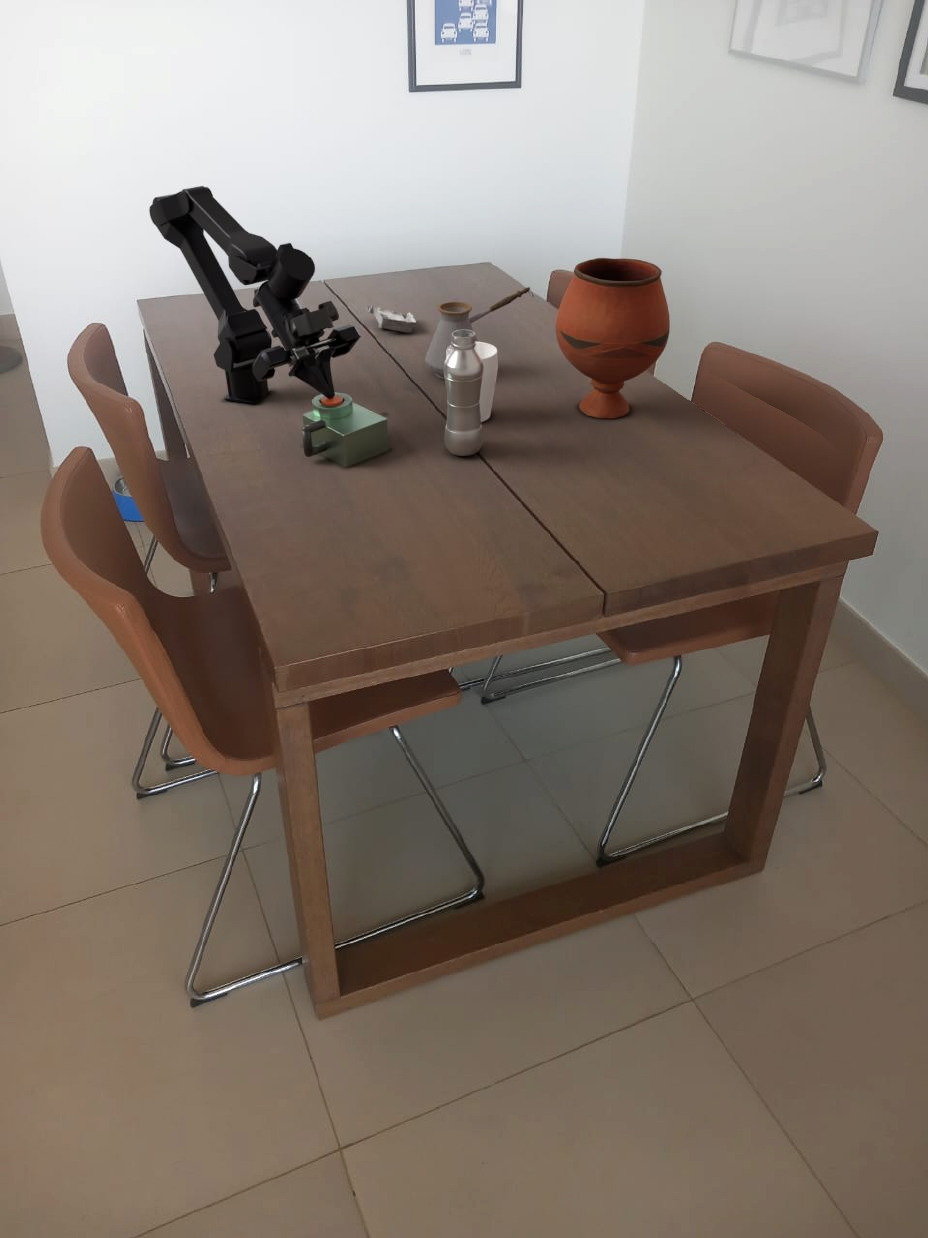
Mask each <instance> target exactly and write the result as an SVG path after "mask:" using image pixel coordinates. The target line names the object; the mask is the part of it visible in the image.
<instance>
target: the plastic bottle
mask: <svg viewBox="0 0 928 1238" xmlns="http://www.w3.org/2000/svg"><path fill="white" fill-rule="evenodd" d="M475 335H476V333H475V331H474V332H473V331H471V330H457V331H454V332H453V333H452V342H451V346H452V347H453V349H452V351H451V352H450V353H449V355H448V356H447V358H446V360H445V362H444V366H443V369H444V377H445V379H444V383H445V390H446V402H447V404H446V405H447V407H446V409H447V410H446V422H445V423H446V424H445V426H444V427H445V428H444V435H443V440H444V445H445V448H446V449H447V451H448V453H450V454H452V455H455V456H460V457H467V456H472V455H475V454H477V453H478V452H480V450H481V448H482V446H483V442H484V430H483V426H482V425H483V424H482V422H481V416H480V392H481V384H482V377H483V368H484V366H483V362H482V359H481V358H480V356H479V354H478V353H477V352H476V350H475V349H474V347H475V346H476V341H475Z"/></svg>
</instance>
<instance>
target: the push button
mask: <svg viewBox="0 0 928 1238" xmlns="http://www.w3.org/2000/svg"><path fill="white" fill-rule="evenodd" d="M342 403H343V398H342V397H341V396H339V395H335V396H334V397H333V398H331V399H328V398H327V397H325V396H324V397H322V398H321V404H323V405H327V406H333V405H339V404H342Z"/></svg>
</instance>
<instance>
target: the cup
mask: <svg viewBox="0 0 928 1238" xmlns="http://www.w3.org/2000/svg"><path fill="white" fill-rule="evenodd" d="M452 349H453V347H452V346H451V345H450V346H449V347H448V348H447V350H446V358H447V356H448V355H449V353H450V352H451V351H452ZM474 349H475V350H476V352H477V353H478V354H479V356H480V358H481V359H482V362H483V366H484V368H483V377H482V384H481V392H480V416H481V423H483V422H486V421H487V420H489V418H491V413H492V407H493V401H494V396H495V389H496V383H497V378H498V377H497V376H498V370H499V361H498V360H499V359H498V348H497V347H496V346H494V345H493V344H491V343H489V342H483V341H478V342H477V341H476V346H475V347H474Z"/></svg>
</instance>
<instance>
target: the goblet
mask: <svg viewBox="0 0 928 1238" xmlns="http://www.w3.org/2000/svg"><path fill="white" fill-rule="evenodd" d="M662 272H663V271H662V269H661V268H660V267H659V266H658V265H656V264H655V263H652V262H649V261H647V260H641V259H635V258H610V257H596V258H592V259H587V260H586V261H582V262H580V263H578V264H576V265H575V267H574V269H573V276H572V277H571V280H570V283H569V285H568V287H567V289H566V290H565V293H564V294H563V297H562V298H561V299H562V300H561V302H560V305H559V307H558V310H557V313H556V320H555V335H556V340H557V343H558V346H559V349H560V351H561V353H562V355H563V356H564V358H565V359H566V360H567V361H568V362H569V363H570V364H571V365H572V366H573V367H574V368H575V369H576V370H577V371H578V372H579V373H581V374H582V375H584V376H586V377H587V378H589V379H591V382H590V385H591V386H592V387H593V389H592V390H591V391H590V392H589V393H588V394H586V396H584V397H583V398H582V399H581V401H580V403H579V410H580V411H581V412H582V413H583V414H584V415H586V416H588V417H592V418H597V419H617V418H621V417H624V416H625V415H627V414H628V413H629V412H630V407H629V404H628V401H627V400H626V398H625V397H624V396H623V394H622V393H621V392H620V390H622V389H623V388H624V385H625V382H628V381H629V380H632V379H634V378H636V377H638V376H639V375H641V374H643V373H645V372H646V371H647V370H648V369H649V368H651V367H652V366H653V365H654V364H655V363H656V362H657V361H658V360H659V358H660V357H661V356H662V354H663V352H664V351H665V349H666V347H667V344H668V341H669V338H670V328H671V327H670V326H671V323H670V322H671V321H670V320H671V319H670V310H669V304H668V301H667V296H666V294H665V289H664V285H663V282H662V278H661V277H662Z"/></svg>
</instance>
